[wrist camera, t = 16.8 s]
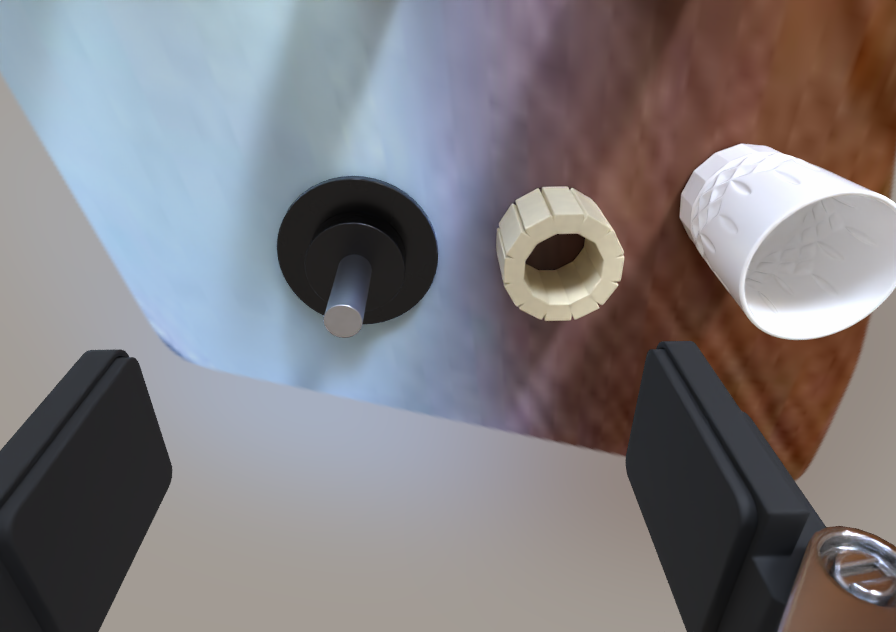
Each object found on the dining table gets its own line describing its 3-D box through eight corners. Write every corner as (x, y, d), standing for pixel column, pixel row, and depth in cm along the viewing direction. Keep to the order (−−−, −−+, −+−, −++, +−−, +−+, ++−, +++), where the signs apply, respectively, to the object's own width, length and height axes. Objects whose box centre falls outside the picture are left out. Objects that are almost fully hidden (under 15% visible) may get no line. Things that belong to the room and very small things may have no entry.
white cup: (648, 180, 36) (716, 250, 28) (776, 105, 34) (892, 155, 26) (696, 277, 40) (769, 365, 31) (815, 214, 38) (928, 290, 29)
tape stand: (267, 176, 36) (226, 232, 29) (437, 174, 36) (439, 230, 29) (290, 321, 41) (260, 399, 34) (438, 319, 41) (440, 396, 34)
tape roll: (498, 186, 36) (506, 214, 33) (610, 185, 37) (632, 213, 33) (494, 286, 40) (501, 322, 36) (596, 285, 40) (614, 320, 36)
